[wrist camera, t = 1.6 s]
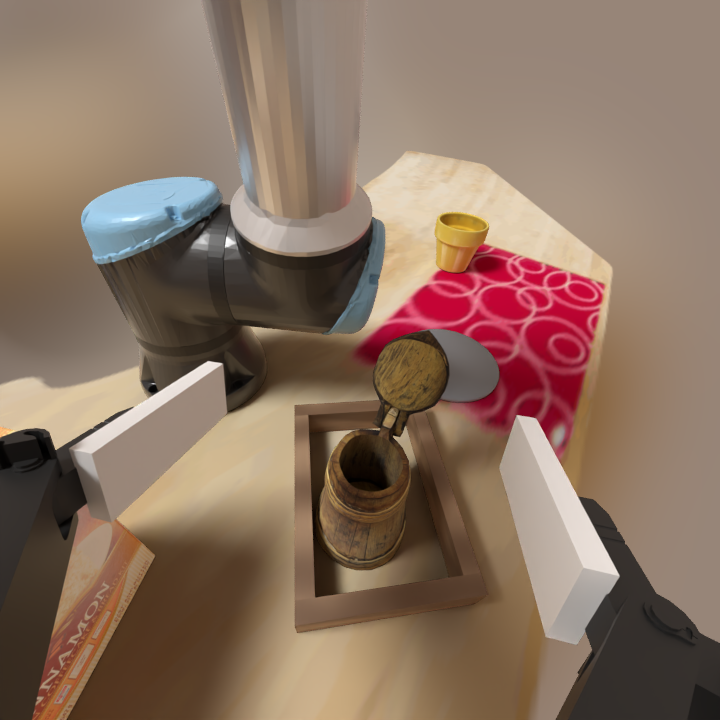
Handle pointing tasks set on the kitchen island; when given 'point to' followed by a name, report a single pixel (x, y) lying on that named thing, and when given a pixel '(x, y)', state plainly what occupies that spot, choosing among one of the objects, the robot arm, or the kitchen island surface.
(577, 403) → the kitchen island surface
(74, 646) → the coffeecake box
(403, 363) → the wooden mug
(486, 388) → the grey mat
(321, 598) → the frame
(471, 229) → the plant pot
